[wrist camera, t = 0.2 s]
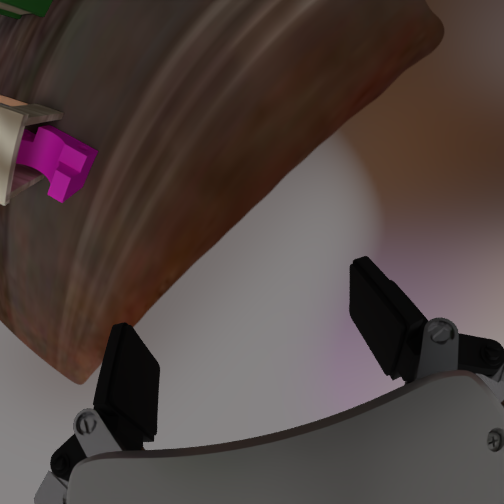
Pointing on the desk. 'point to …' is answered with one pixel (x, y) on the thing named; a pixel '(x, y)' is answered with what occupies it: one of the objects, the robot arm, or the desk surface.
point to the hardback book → (24, 7)
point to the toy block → (57, 159)
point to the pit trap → (10, 101)
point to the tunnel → (7, 146)
